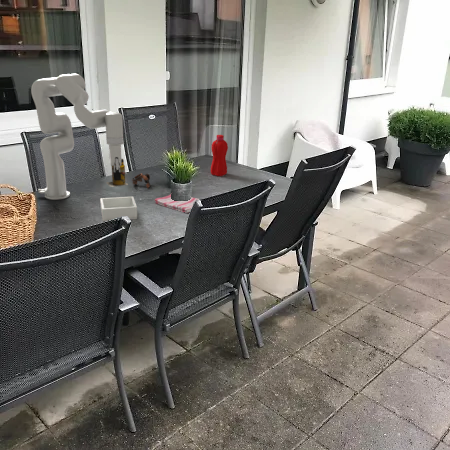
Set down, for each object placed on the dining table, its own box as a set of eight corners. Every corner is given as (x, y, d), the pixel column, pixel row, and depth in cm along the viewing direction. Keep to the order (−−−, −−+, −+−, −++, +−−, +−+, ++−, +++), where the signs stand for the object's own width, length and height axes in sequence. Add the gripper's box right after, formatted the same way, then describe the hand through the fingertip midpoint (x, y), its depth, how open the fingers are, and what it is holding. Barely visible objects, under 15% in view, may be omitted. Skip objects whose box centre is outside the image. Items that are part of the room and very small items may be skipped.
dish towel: (175, 195, 259) (175, 189, 257) (209, 206, 246) (209, 199, 245) (153, 203, 246) (153, 197, 245) (187, 215, 234) (188, 208, 232)
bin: (102, 221, 221) (102, 209, 218) (101, 209, 234) (100, 198, 232) (137, 218, 225) (136, 207, 223) (133, 207, 238) (133, 196, 236)
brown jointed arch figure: (146, 190, 265) (138, 178, 262) (135, 194, 270) (127, 182, 267) (157, 179, 274) (149, 167, 270) (145, 183, 279) (138, 172, 276)
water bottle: (207, 175, 294) (208, 135, 284) (216, 171, 303) (217, 132, 293) (219, 178, 290) (220, 137, 280) (228, 174, 298) (230, 134, 289)
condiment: (128, 184, 223) (127, 160, 218) (111, 187, 219) (110, 162, 214) (122, 180, 228) (121, 156, 224) (105, 183, 224) (104, 158, 219)
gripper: (105, 136, 222) (107, 173, 229) (107, 145, 207) (110, 184, 214) (121, 135, 224) (123, 172, 231) (125, 144, 209) (126, 183, 216)
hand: (116, 177), depth 222 cm, fingers closed on condiment, 6 cm apart
